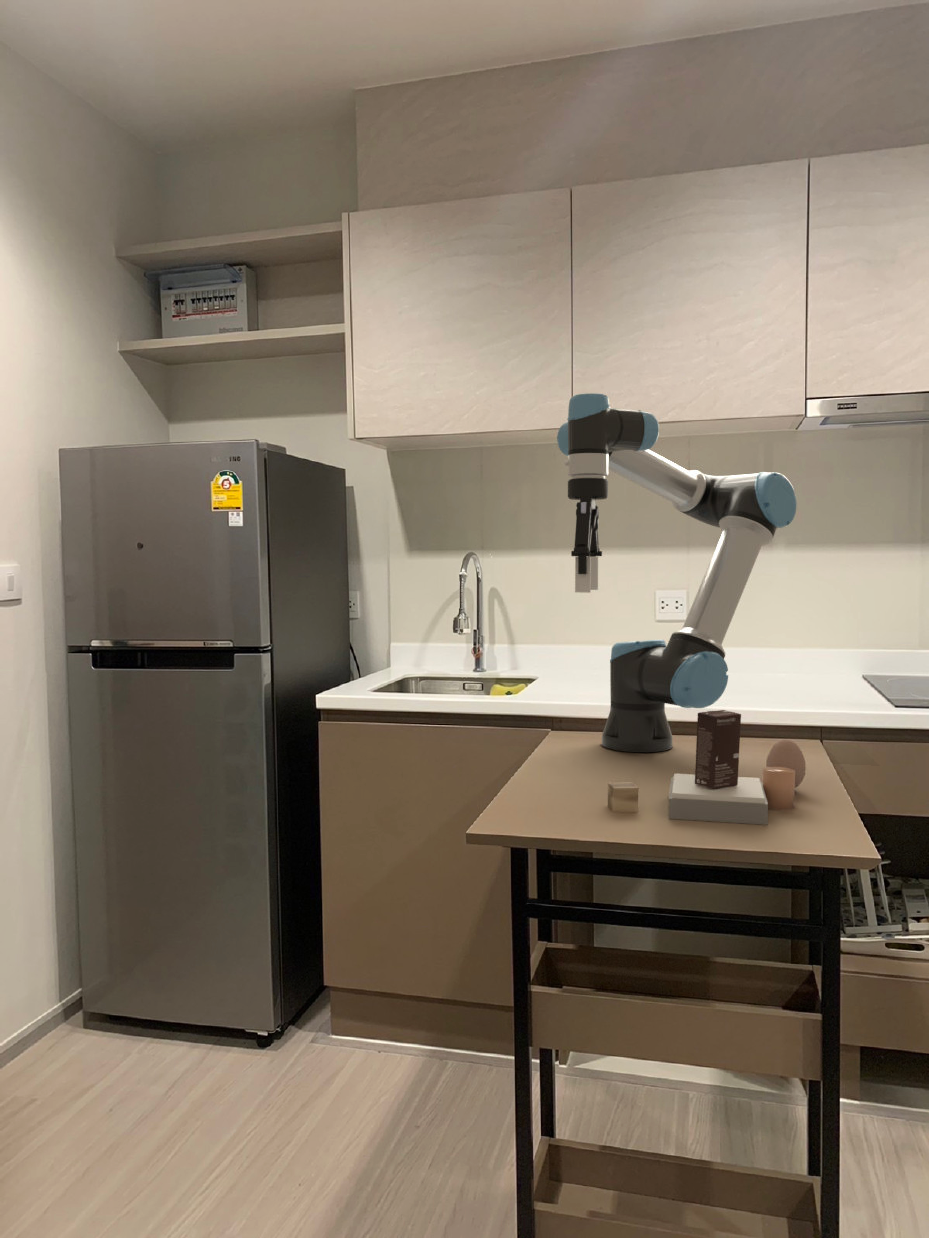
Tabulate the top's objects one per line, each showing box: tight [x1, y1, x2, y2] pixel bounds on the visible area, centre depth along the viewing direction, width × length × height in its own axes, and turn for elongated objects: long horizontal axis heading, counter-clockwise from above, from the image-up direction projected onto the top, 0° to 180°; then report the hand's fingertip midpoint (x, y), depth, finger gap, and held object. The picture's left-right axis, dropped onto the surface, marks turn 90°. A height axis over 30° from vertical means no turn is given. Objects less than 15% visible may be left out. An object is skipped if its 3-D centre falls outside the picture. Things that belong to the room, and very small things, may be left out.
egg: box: [765, 738, 807, 789], centre depth 170 cm, size 7×7×9 cm
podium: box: [667, 773, 769, 826], centre depth 158 cm, size 15×15×4 cm
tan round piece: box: [762, 766, 796, 811], centre depth 160 cm, size 5×5×6 cm
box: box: [694, 709, 742, 789], centre depth 157 cm, size 6×4×12 cm
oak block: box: [607, 781, 639, 813], centre depth 158 cm, size 4×4×4 cm
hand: (587, 591), depth 183 cm, fingers open, 13 cm apart
